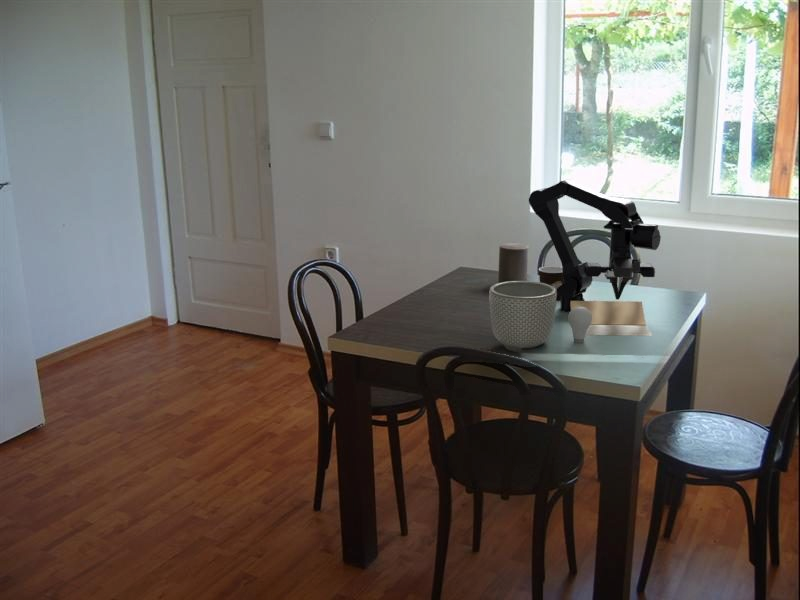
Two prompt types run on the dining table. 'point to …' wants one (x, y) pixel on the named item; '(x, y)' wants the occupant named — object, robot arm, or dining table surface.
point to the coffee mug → (551, 277)
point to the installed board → (618, 330)
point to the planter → (522, 313)
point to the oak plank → (613, 312)
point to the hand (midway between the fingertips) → (617, 299)
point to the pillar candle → (513, 262)
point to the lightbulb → (579, 322)
